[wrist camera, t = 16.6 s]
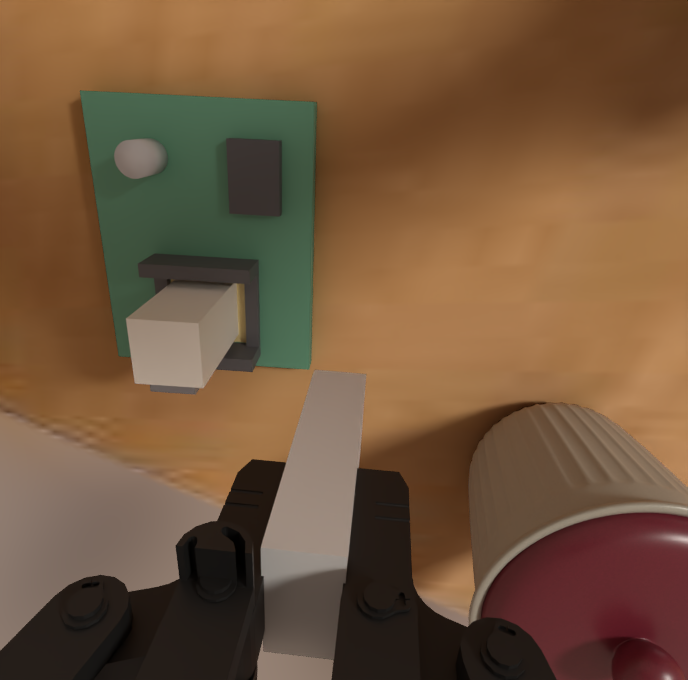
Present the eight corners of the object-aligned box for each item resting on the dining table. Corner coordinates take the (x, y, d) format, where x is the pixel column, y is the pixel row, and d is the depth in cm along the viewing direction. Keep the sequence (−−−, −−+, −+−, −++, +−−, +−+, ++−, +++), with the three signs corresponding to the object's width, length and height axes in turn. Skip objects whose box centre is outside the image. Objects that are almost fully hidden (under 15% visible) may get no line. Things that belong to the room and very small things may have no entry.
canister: (693, 449, 45) (932, 702, 25) (536, 562, 51) (633, 835, 32) (548, 325, 41) (700, 511, 22) (399, 464, 47) (413, 705, 28)
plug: (178, 276, 39) (125, 318, 31) (236, 280, 39) (198, 323, 31) (184, 339, 42) (136, 394, 33) (239, 342, 41) (204, 399, 33)
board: (91, 91, 36) (54, 88, 32) (316, 102, 35) (308, 100, 31) (126, 348, 44) (100, 372, 40) (311, 361, 43) (304, 387, 39)
